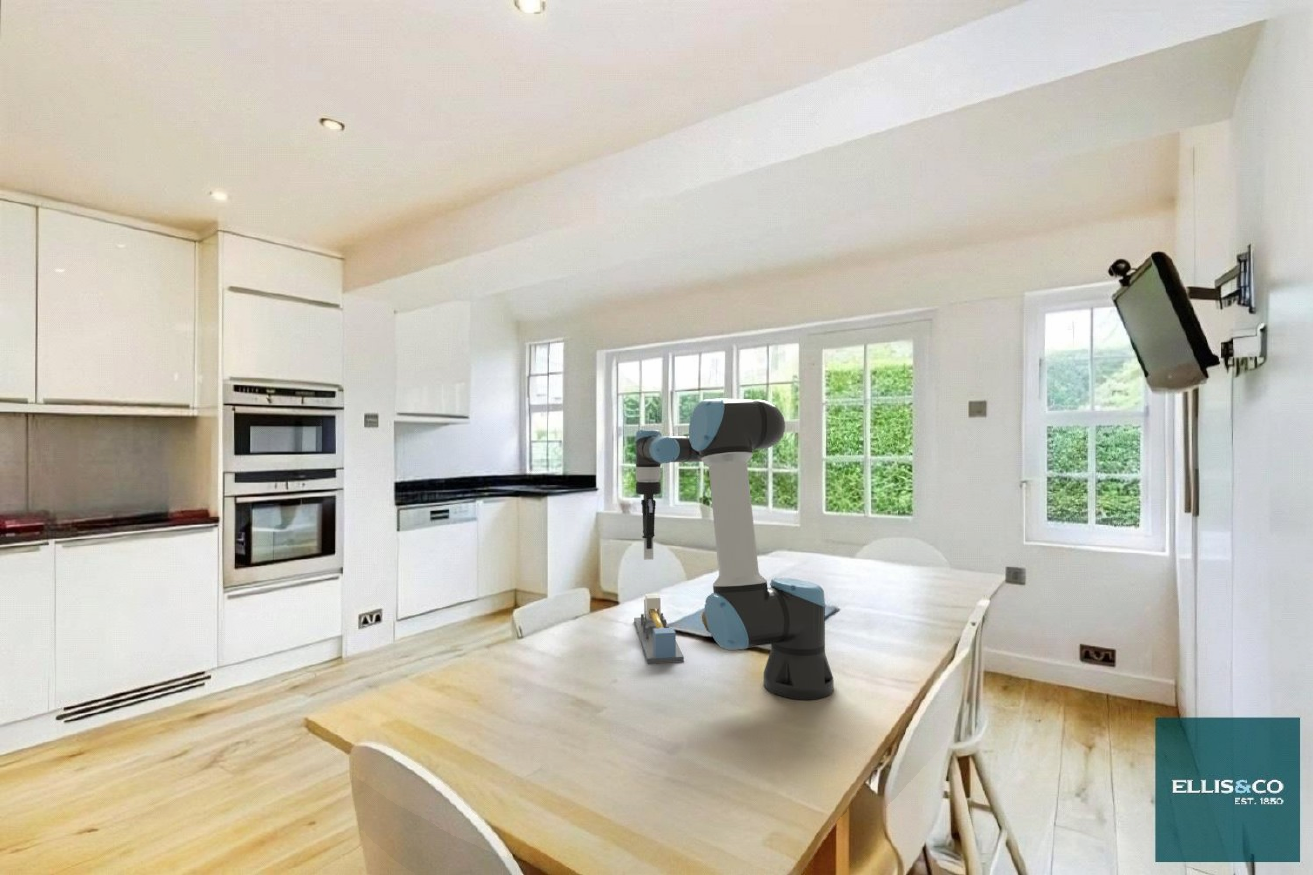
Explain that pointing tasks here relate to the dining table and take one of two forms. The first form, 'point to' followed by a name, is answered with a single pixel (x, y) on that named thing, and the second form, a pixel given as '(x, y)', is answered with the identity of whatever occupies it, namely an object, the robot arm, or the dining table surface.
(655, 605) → the sleeve
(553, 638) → the dining table surface
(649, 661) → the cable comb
